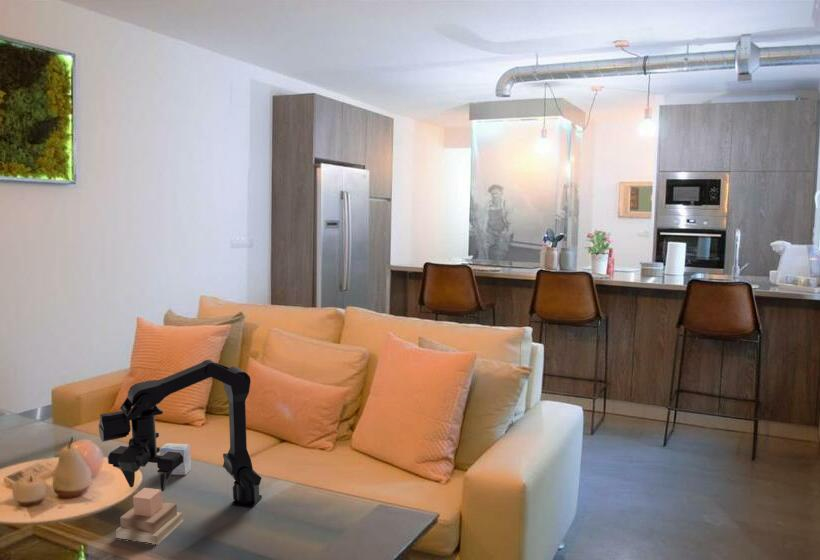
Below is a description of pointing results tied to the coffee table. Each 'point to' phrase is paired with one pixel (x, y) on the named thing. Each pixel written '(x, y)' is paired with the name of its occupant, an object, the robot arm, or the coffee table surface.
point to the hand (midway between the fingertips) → (147, 488)
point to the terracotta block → (147, 502)
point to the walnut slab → (149, 519)
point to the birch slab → (151, 537)
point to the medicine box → (185, 451)
